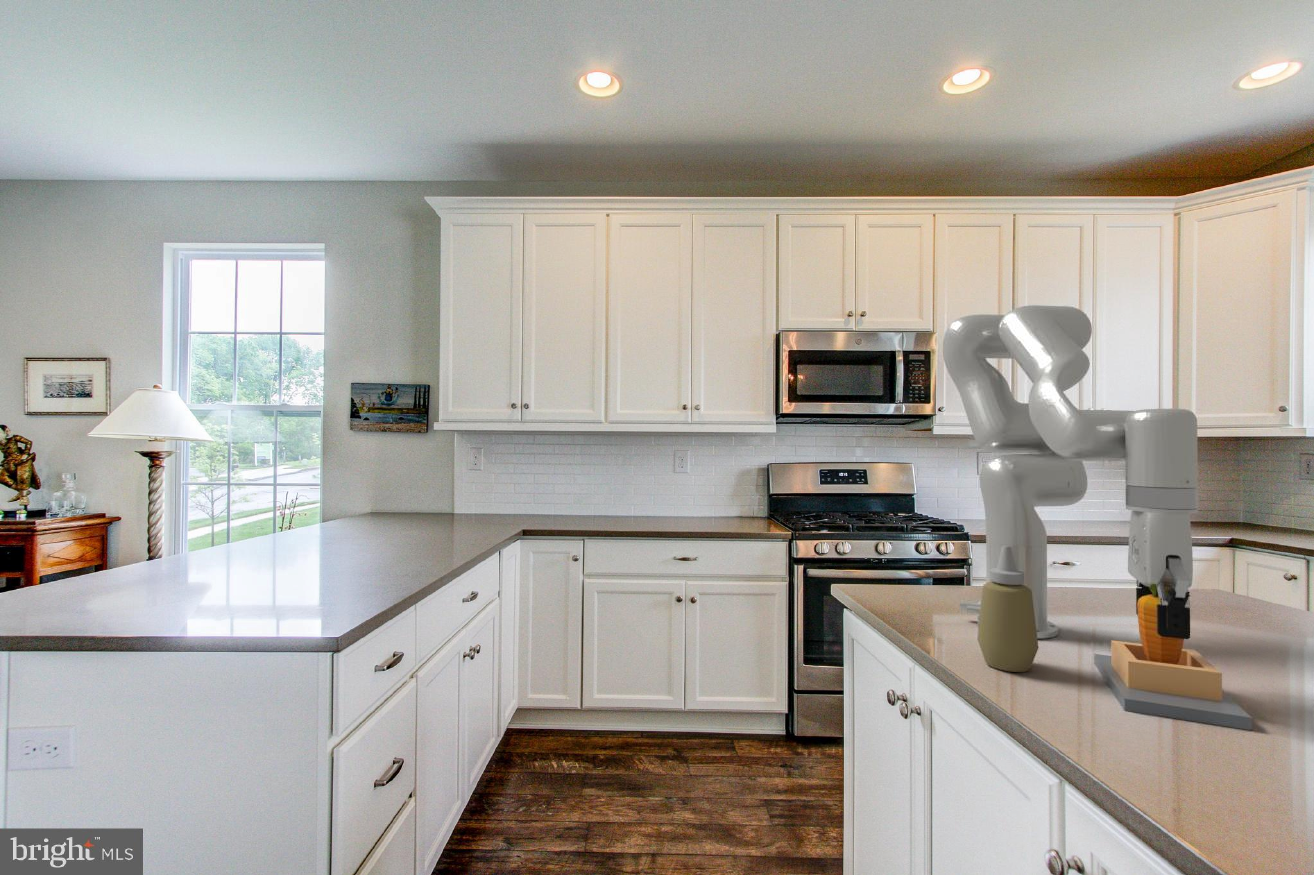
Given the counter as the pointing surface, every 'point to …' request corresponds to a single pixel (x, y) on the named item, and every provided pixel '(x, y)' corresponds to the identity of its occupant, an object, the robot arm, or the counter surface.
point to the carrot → (1151, 640)
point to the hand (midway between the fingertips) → (1161, 626)
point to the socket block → (1169, 686)
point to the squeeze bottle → (1007, 618)
